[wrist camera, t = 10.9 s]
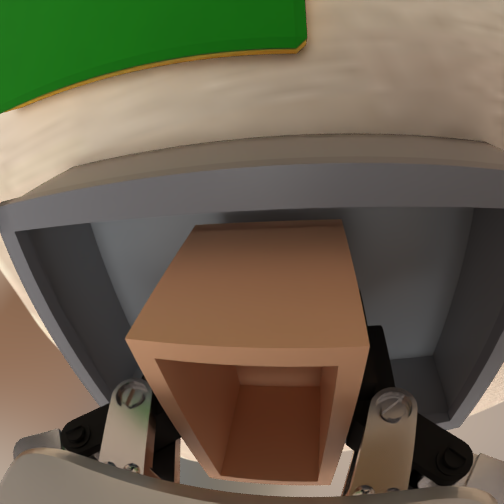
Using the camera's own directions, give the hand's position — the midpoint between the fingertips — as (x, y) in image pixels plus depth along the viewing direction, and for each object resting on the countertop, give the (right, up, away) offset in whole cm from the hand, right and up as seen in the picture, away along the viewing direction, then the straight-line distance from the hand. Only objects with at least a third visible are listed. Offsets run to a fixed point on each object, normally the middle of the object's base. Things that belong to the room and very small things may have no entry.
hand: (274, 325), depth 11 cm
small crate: (0, 0, 0) cm, 0 cm away
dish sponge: (-6, +13, -2) cm, 15 cm away
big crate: (0, +2, +3) cm, 3 cm away
